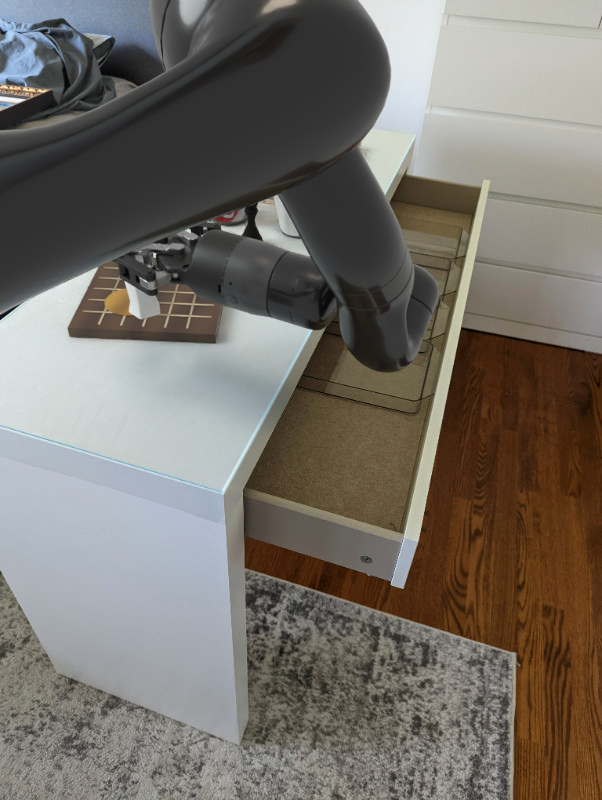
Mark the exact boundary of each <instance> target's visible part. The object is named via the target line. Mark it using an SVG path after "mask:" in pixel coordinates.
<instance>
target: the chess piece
mask: <svg viewBox="0 0 602 800" xmlns="http://www.w3.org/2000/svg"><path fill="white" fill-rule="evenodd" d="M258 206H259V202H258V203H256V204H253V205H251V206H248V207H246V208H245V209H244V211H245V214H246V216H247V218H246V226H245V228H244V230H243V232H242V234H241V236H245V237H249V238H252V239H256V240H260V241H264V239H263V236H262V235H261V233H260V231H259V228H258V227H257V223H256V218H257V215H258V213H259V208H258Z"/></svg>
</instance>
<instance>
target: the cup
mask: <svg viewBox="0 0 602 800" xmlns="http://www.w3.org/2000/svg"><path fill="white" fill-rule="evenodd" d="M274 201H275V204H274V205H275V209H276V215H277V219H278V222H279V223H278V224H279V228H280V231H281V233H282V234H284V235H285V236H287V237H291V238H298V239H301V238H300V236H299V234H298V232H297V230H296V228H295V226H294V224H293V222H292V221H291V219H290V217H289V215H288V213H287V211H286V209H285V208H284V206H283V204H282V202H281V200H280V198H279V197H278V195H276V196H274Z"/></svg>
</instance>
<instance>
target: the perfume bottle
mask: <svg viewBox="0 0 602 800" xmlns="http://www.w3.org/2000/svg"><path fill="white" fill-rule="evenodd" d="M135 258H136V260H137V261H139V262H143V263H144V261H143V257H142V256H139V255H135ZM125 285H126V288H127V292H128V295H129V299H130V305H129V313H131V314H133V315H134V316H136V317H137V318H139V319H144V318H148V317H152V316H155V315H159V314H160V304H159V302H158V300H157V298H156V296H149V295H147V294H145V293H144V292H142V291H140V290H139V289H137V288H135V287H134V286H132V285H131V284H129V283H127V282H126V281H125Z"/></svg>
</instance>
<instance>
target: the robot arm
mask: <svg viewBox="0 0 602 800" xmlns="http://www.w3.org/2000/svg"><path fill="white" fill-rule="evenodd" d="M149 19H150V26H151V31H152V32H151V33H152V37H153V41H154V42H153V43H154V46H155V48H156V52H157V54H158V58H159V60H160V64H161V67H162V69H163V71H164V72H162V73H161V74H159V75H157V76H155V77H154V78H151V79H150V80H149V81H146V82H144V83H143V84H141V85H139V86H137V87H135V88H133V89H131V90H130V91H127V92H126V93H123V94H121V95H119V96H117V97H115V98H112V99H110V100H109V101H107V102H105V103H104V104H101V105H99V106H98V107H95V108H93V109H91V110H88V111H86V112H83V113H81V114H78V115H76V116H73V117H71V118H67V119H65V120H64V119H63V120H61V121H58V122H53V123H51V124H46V125H41V126H35V127H28V128H19V129H17V128H16V129H4V130H3V129H1V130H0V315H2V314H4V313H6V312H8V311H9V310H11V309H13V308H15V307H17V306H19V305H21V304H23V303H25V302H28V301H29V300H31V299H33V298H35V297H37V296H39V295H42V294H44V293H45V292H48V291H50V290H52V289H54V288H56V287H58V286H61V285H62V284H64V283H67V282H69V281H72V280H74V279H76V278H78V277H80V276H82V275H84V274H86V273H88V272H90V271H92V270H94V269H98V267H99V266H101V265H103V264H105V263H107V262H109V261H113V262H116V263H117V264H118V269H119V277H120V278H121V279H122V280H124V281H126V282H127V283H129V284H131V285H132V286H134V287H135V288H137V289H139V290H140V291H142V292H144V293H145V294H147V295H149V296H156V295H158V293H159V291H158V287H159V286H161V285H163V284H165V283H168V282H169V283H171V284H175V285H177V284H179V285H187V286H188V287H189V288H190V289H191V290H192V291H193V292H194V293H195V294H196V295H197V296H198V297H199V298H201V299H204V300H208V301H211V302H214V303H217V304H221V305H223V307H227V308H231V309H234V310H236V311H240V312H244V313H246V314H250V315H254V316H259V317H265V318H269V319H274V320H276V321H277V320H278V321H280V322H283V323H287V324H289V325H293V326H296V327H300V328H303V329H307V330H311V331H322V330H324V329H326V328H328V326H329V325H330V324H331V323H332V322H333V321H334V319H335V318H336V317H337V318H338V322H339V329H340V333H341V337H342V341H343V343H344V345H345V347H346V349H347V350H348V351H349V353H350V355H352V357H353V358H354V359H355V360H356V361H357V362H359V363H360V364H361V365H363V366H364V367H366V368H367V369H370V370H372V371H375V372H378V373H385V374H390V373H392V374H393V373H396V372H397V373H398V372H400V371H402V370H405V369H406V368H408V367H409V366H410V365H411V364H412V363H413V362H414V361H415V359H416V358H417V356H418V354H419V352H420V349H421V347H422V345H423V341H424V339H425V335H426V333H427V331H428V328H429V325H430V323H431V320H432V317H433V315H434V313H435V310H436V308H437V305H438V302H439V299H440V287H439V283H438V281H437V280H436V279H435V277H434V276H433V275H432V274H431V273H430V272H429V271H428V270H427V269H425V268H424V267H422V266H420V265H417V264H416V263H414V261H413V258H412V256H411V252H410V249H409V247H408V243H407V241H406V237H405V235H404V234H405V233H404V232H403V229H402V226H401V224H400V222H399V219H398V218H397V216H396V214H395V211H394V209H393V207H392V205H391V203H390V202H389V200H388V198H387V196H386V195H385V192H384V190H383V188H382V187H381V185H380V183H379V182H378V179H377V178H376V175H375V174H374V172H373V170H372V169H371V166H370V165H369V163H368V161H367V159H366V157H365V156H364V154H363V152H362V150H361V147H360V148H359V146H358V145H359V143H360V142H361V143H362V141H363V140H364V138H366V137H367V135H368V134H369V133H370V131H371V130H372V129H373V128H374V127H375V124H376V123H377V121H378V119H379V117H380V116H381V114H382V112H383V110H384V108H385V105H386V102H387V99H388V97H389V93H390V89H391V81H392V66H391V59H390V58H391V57H390V54H389V51H388V47H387V44H386V41H385V40H384V38H383V36H382V34H381V32H380V29H379V28H378V27H377V25H376V23H375V22H374V20H373V18H372V17H371V15H370V14H369V12H368V11H367V10H366V9H365V7H364V6H363V5H362V3H361V2H360V1H359V0H149ZM276 195H278V197H279V198H280V200H281V202H282V204H283V206H284V208H285V209H286V211H287V213H288V215H289V217H290V219H291V221H292V222H293V224H294V226H295V228H296V230H297V232H298V234H299V236H300V238H299V239H300V240H301V242H302V244H303V246H304V247H305V250H306V251H307V253H308V255H306V254H303V253H300V252H295V251H291V250H288V249H285V248H283V247H281V246H278V245H276V244H274V243H271V242H268V241H265V240H263V241H260V240H256V239H252V238H249V237H245V236H241V235H242V234H241V235H240V234H237V233H234V232H230V231H226V230H222V224H219V223H216V222H211V221H213V219H216V218H219V217H221V216H224V215H227V214H229V213H232V212H235V211H237V210H240V209H243V208H245V207H248V206H251V205H253V204H256V203H258V204H259V203H262V202H261V201H263V200H266V199H269V198H271V197H274V196H276ZM187 230H190V232H189V231H187ZM154 254H155V257H154ZM135 255H139V256H142V257H143V261H144V263H143V262H139V261H137V260H136V258H135ZM154 258H156V262H157V266H156V265H155V262H154Z"/></svg>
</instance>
